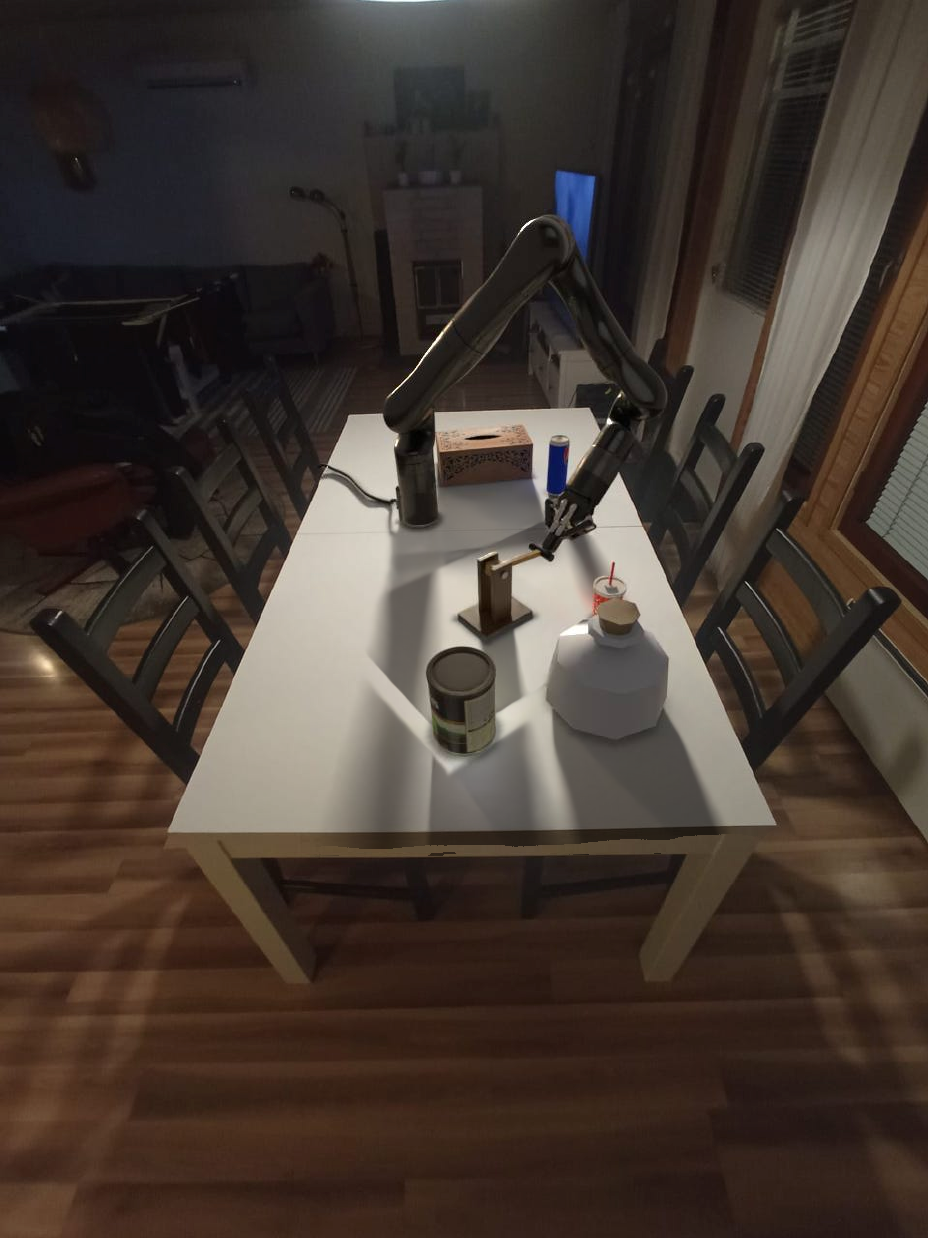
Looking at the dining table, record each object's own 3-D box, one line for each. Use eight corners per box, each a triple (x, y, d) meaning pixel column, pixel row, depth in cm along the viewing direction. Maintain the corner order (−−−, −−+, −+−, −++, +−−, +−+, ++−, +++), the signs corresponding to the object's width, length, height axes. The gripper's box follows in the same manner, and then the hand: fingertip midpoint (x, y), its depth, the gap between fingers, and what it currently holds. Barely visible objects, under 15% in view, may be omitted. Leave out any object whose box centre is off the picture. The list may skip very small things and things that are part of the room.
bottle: (671, 751, 86) (699, 664, 74) (542, 737, 89) (549, 650, 77) (659, 661, 101) (681, 576, 89) (550, 651, 104) (556, 568, 92)
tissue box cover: (521, 456, 170) (522, 424, 164) (531, 477, 159) (533, 443, 152) (437, 464, 168) (435, 431, 162) (441, 485, 157) (439, 451, 151)
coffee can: (434, 760, 86) (426, 699, 77) (431, 709, 94) (424, 648, 85) (500, 754, 87) (500, 692, 78) (492, 704, 95) (491, 642, 86)
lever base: (503, 595, 118) (503, 539, 109) (532, 616, 112) (535, 558, 103) (457, 618, 112) (454, 561, 104) (485, 641, 107) (484, 583, 98)
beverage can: (564, 497, 149) (569, 442, 140) (545, 495, 150) (548, 442, 141) (566, 488, 153) (570, 434, 144) (547, 487, 154) (550, 434, 144)
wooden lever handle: (533, 549, 114) (534, 539, 112) (553, 562, 110) (555, 551, 108) (478, 568, 106) (479, 557, 105) (498, 583, 103) (499, 572, 101)
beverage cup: (601, 635, 107) (611, 576, 98) (582, 618, 111) (589, 559, 102) (626, 625, 109) (638, 566, 100) (606, 608, 113) (616, 549, 104)
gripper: (560, 456, 110) (514, 532, 113) (612, 478, 102) (560, 560, 105) (577, 472, 116) (533, 544, 119) (628, 495, 108) (578, 572, 110)
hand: (546, 552), depth 112 cm, fingers closed
